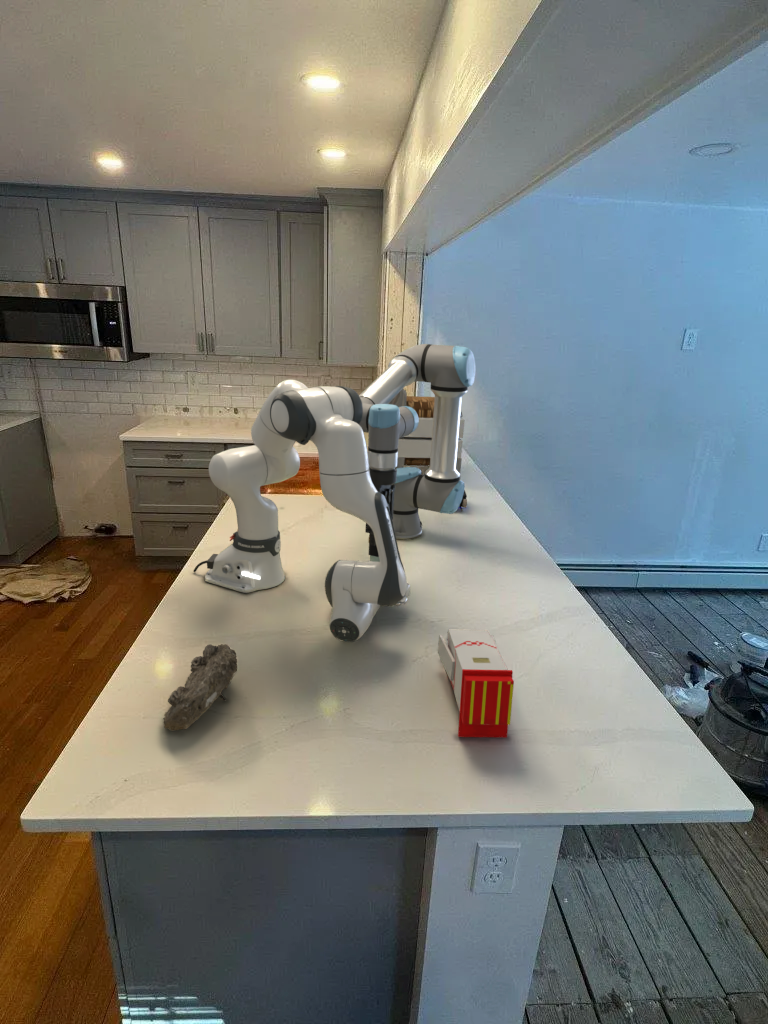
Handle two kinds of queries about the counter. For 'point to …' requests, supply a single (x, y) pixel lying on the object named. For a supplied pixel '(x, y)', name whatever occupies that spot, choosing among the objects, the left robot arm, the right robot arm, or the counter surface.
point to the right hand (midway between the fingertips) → (378, 551)
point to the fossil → (201, 686)
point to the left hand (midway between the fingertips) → (378, 575)
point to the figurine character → (463, 502)
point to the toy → (478, 682)
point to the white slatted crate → (421, 432)
